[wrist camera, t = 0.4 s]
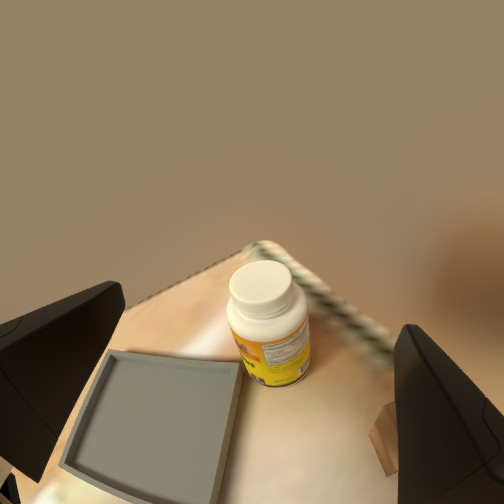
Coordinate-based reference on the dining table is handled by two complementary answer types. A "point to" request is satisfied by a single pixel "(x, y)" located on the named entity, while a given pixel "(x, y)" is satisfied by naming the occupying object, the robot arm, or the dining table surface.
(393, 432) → the walnut block
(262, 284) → the supplement bottle
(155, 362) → the slate tray
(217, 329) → the dining table surface
